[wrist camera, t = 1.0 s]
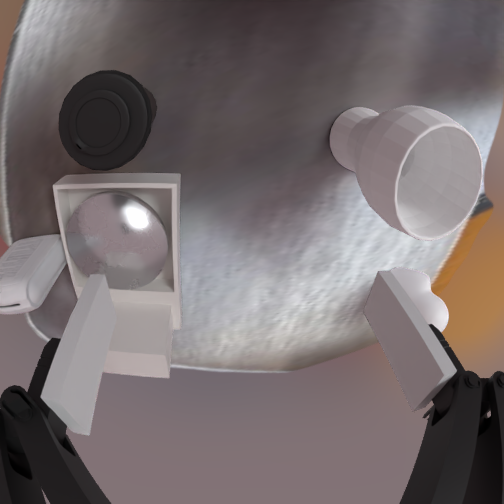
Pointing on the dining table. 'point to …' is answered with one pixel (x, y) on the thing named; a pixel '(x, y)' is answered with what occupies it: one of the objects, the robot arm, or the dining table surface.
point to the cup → (411, 167)
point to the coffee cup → (106, 119)
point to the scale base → (144, 298)
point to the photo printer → (30, 272)
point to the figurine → (422, 296)
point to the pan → (118, 239)
